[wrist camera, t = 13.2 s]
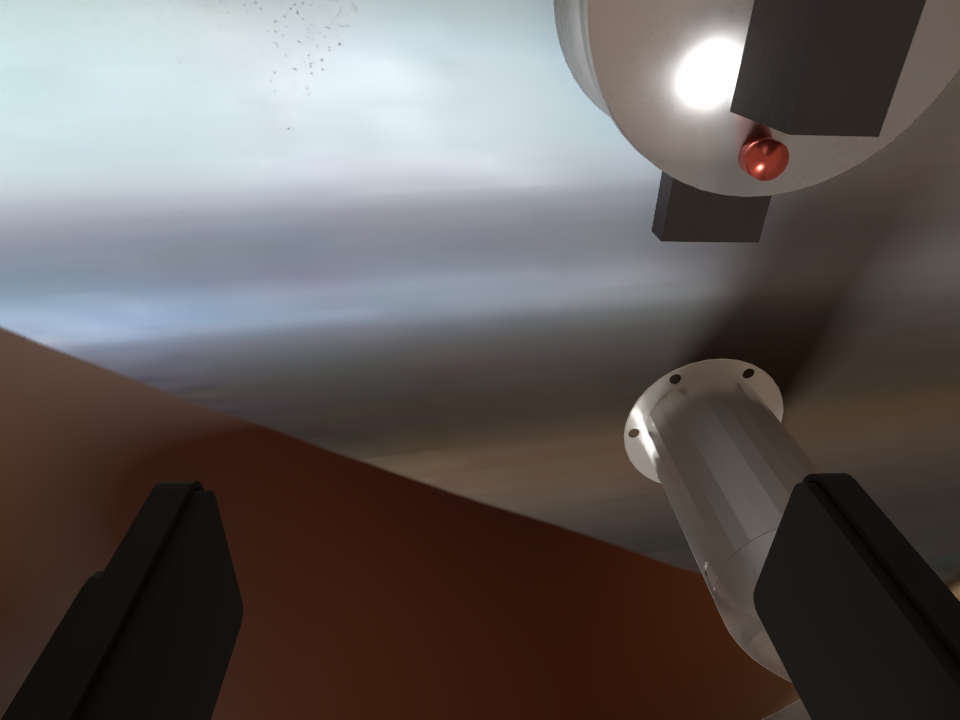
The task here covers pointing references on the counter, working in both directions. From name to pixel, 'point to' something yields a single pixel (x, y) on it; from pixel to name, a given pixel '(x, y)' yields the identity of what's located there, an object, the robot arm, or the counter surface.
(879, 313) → the counter surface
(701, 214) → the pot
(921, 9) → the lid
